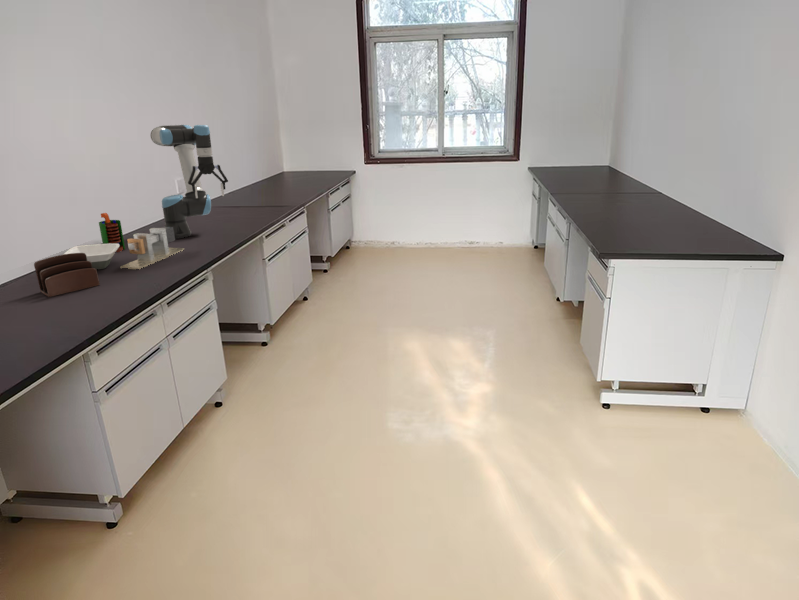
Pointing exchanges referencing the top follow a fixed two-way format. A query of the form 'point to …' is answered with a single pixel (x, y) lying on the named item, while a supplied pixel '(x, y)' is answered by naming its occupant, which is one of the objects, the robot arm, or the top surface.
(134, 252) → the spacer
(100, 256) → the bowl
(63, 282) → the letter holder
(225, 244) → the top surface
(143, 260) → the frame
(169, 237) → the shaft
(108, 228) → the motor
